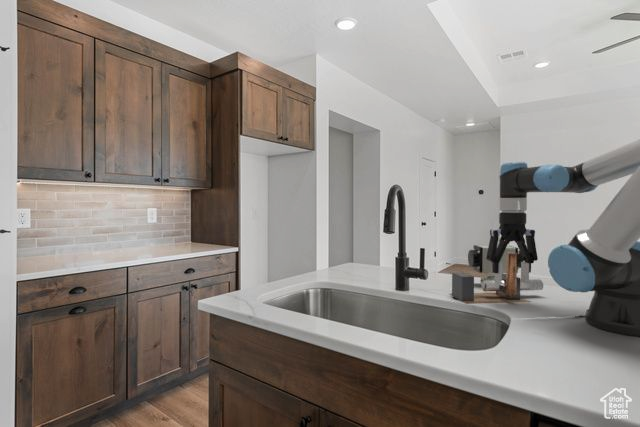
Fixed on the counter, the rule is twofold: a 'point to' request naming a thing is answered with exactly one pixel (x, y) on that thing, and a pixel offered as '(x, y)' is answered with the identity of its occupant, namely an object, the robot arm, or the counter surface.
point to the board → (490, 299)
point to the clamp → (506, 296)
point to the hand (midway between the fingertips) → (511, 282)
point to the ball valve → (485, 266)
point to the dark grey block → (463, 286)
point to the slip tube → (511, 280)
